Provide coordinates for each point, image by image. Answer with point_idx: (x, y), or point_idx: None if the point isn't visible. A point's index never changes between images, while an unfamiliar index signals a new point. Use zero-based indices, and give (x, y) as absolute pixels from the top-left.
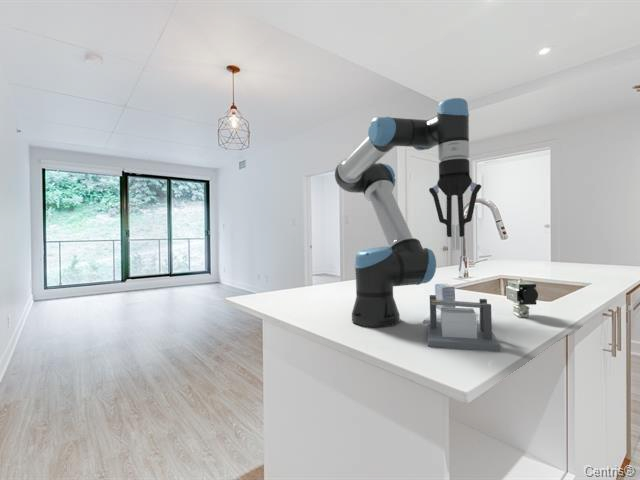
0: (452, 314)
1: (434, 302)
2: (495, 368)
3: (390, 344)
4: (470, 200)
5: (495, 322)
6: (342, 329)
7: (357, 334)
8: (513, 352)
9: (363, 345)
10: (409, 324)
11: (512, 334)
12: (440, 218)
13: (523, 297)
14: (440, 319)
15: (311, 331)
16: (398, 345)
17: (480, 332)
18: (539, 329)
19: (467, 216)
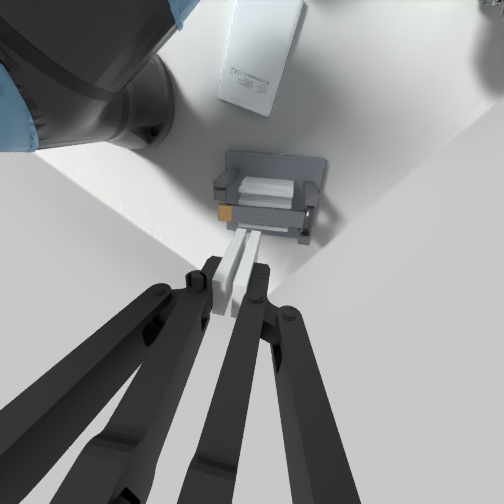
0: (253, 227)
1: (224, 219)
2: (286, 275)
3: (186, 222)
4: (288, 472)
5: (372, 66)
6: (104, 164)
7: (135, 187)
8: (321, 237)
9: (158, 227)
10: (195, 115)
11: (360, 161)
12: (154, 329)
13: (502, 14)
14: (251, 86)
15: (72, 179)
16: (195, 225)
17: (301, 190)
18: (433, 119)
19: (274, 356)
